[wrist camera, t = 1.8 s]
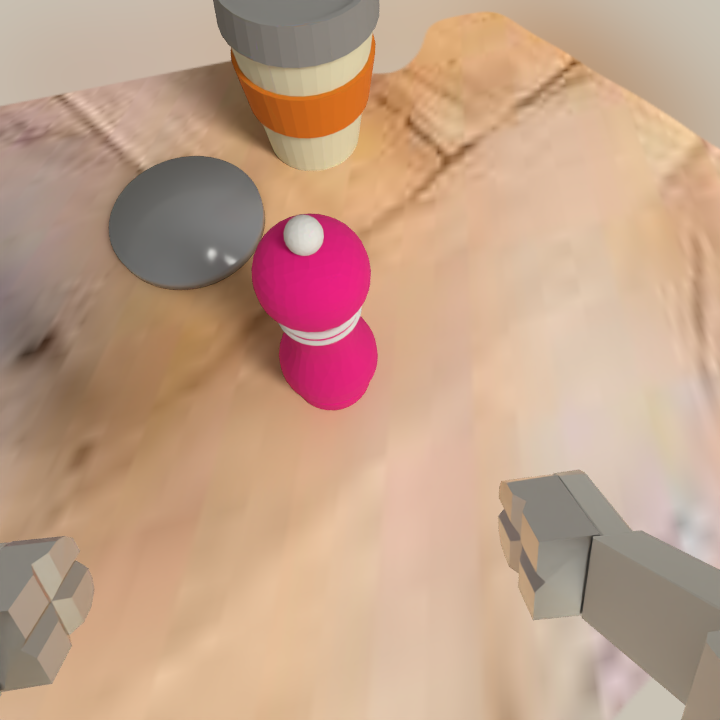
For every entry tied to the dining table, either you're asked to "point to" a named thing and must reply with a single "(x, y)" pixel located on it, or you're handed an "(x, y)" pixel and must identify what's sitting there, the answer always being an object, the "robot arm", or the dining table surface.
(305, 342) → the pepper mill
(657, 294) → the dining table surface
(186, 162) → the plate
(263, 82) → the reusable coffee cup
